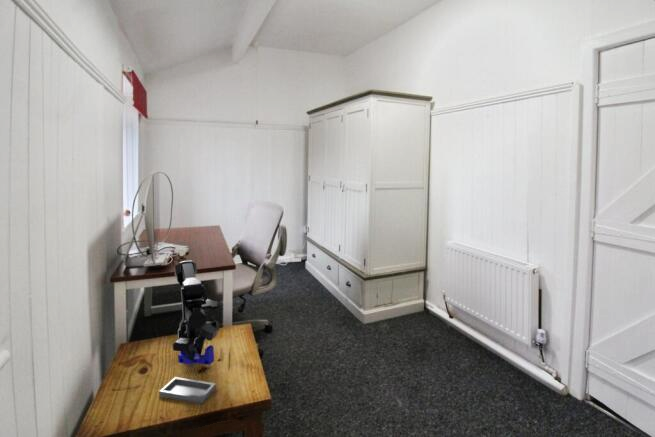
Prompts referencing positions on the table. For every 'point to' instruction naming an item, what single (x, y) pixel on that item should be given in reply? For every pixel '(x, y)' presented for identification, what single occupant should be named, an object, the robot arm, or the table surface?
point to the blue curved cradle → (198, 357)
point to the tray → (187, 390)
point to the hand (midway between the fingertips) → (196, 357)
